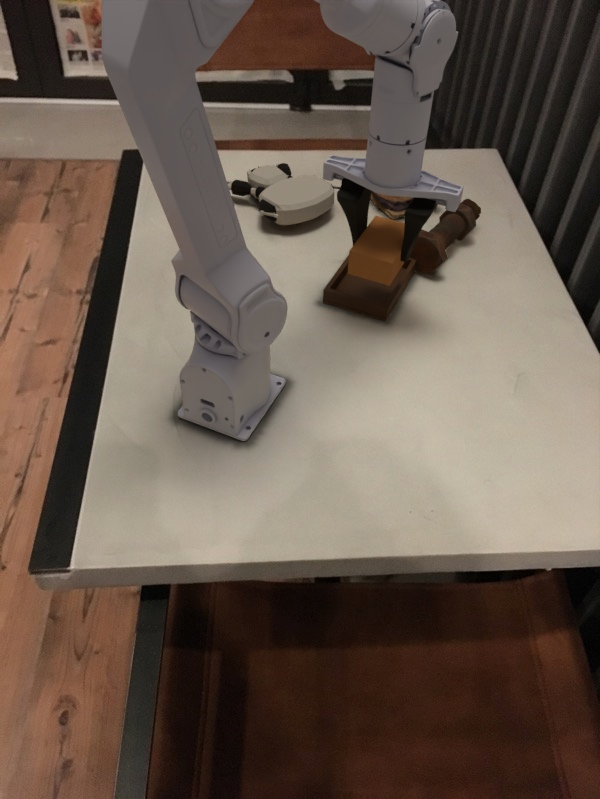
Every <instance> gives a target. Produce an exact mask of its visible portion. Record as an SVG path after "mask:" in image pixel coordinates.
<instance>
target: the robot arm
mask: <svg viewBox="0 0 600 799" xmlns="http://www.w3.org/2000/svg"><path fill="white" fill-rule="evenodd" d="M313 1H314V2H315V3H318V4H319V9H320V14H321V18H322V20H323V23H324V24H325V25H326V27H327V28H328V29H329V30H330V31H331V32H333V33H335V34H336V35H338V36H340V37H343V38H344V39H346V40H348V41H350V42H352V43H354V44H356V45H357V46H359V47H361V48H363V49H364V50H365V52H366V54H367V55H369V56H373V55H374V56H375V58H374V68H373V79H372V89H371V102H370V111H369V122H368V131H367V140H366V143H367V144H366V150H365V151H366V153H365V157H349V156H342V155H341V156H340V155H336V154H330V155H329V156H328V157H327V158H326V159H325V160H324V162H323V165H322V166H323V167H322V180H324V181H327V182H332V181H334V180H337V181H338V180H339V181H341V183H340V184H341V185H340V186H339V187H340V189H338V191H337V192H336V201H337V202H338V204H339V205H340V207H341V209H342V211H343V214H344V215H345V218H346V220H347V223H348V226H349V230H350V231H349V232H350V235H351V241H352V246H353V245H354V244H355V243H356V241H357V240H358V239H359V237H360V236H361V235H362V233H363V232H364V231H365V229H366V228H367V227H368V219H369V209H370V203H371V194H372V191H373V192H376V193H378V194H382V195H387V196H400V197H410V198H414V199H413V201H412V202H411V203H410V205H409V206H408V207H407V209H406V210H405V213H404V217H403V219H404V223H405V226H404V239H403V244H402V248H401V261H403V262H407V260H408V258H409V257H410V255H411V254H412V250H413V247H414V244H415V241H416V239H417V237H418V235H419V233H420V231H421V229H422V230H423V227H424V226H425V224H426V223H427V222H428V221H429V219H430V218H431V216H432V214H433V213H434V211H436V209H435V208H437V206H438V205H439V206H442V207H445V208H444V210H445V211H446V210H448V211H452V212H455V211H456V210H457V208H458V206H459V205H460V203H461V202H462V197H463V193H464V187H465V186H463V185H460V184H457V183H454V182H450V181H448V180H446V179H444V178H442V177H439V176H437V175H435V174H433V173H431V172H429V171H427V170H425V169H423V164H424V156H425V150H426V143H427V137H428V131H429V126H430V120H431V113H432V106H433V100H434V94H435V91H437V90H438V89H439V87H440V84H441V83H442V82H443V76H444V70H445V68H446V65H447V62H448V61H449V59H450V57H451V55H452V54H453V52H454V49H455V46H456V43H457V40H458V35H459V31H457V21H456V17H455V15H454V13H452V10H451V8H450V5H449V4H448V3H447V2H445V1H443V0H313ZM254 2H255V0H101V58H102V62H103V66H104V71H105V72H106V75H107V77H108V81H109V83H110V85H111V87H112V89H113V92H114V95H115V97H116V99H117V102H118V104H119V106H120V109H121V111H122V114H123V116H124V118H125V121H126V123H127V126H128V128H129V131H130V133H131V135H132V138H133V140H134V142H135V145H136V147H137V150H138V152H139V154H140V158H141V160H142V162H143V164H144V167H145V169H146V172H147V174H148V177H149V179H150V181H151V183H152V186H153V189H154V191H155V194H156V196H157V198H158V202H159V203H160V206H161V208H162V211H163V212H164V215H165V218H166V220H167V222H168V224H169V227H170V229H171V232H172V234H173V237H174V240H175V242H176V245H177V247H178V249H179V250H178V251H177V253H176V254H175V255H174V256H173V258H171V261H170V263H171V264H172V267H173V269H174V273H175V281H174V282H175V283H174V294H175V297H176V299H177V302H178V303H179V305H181V306H182V307H183V308H184V309H186V310H189V313H190V314H189V315H190V322H191V323H192V324H193V330H194V342H193V347H192V350H191V353H190V355H189V358H188V359H187V361H186V362H185V364H184V365H183V367H182V368H181V370H180V372H179V385H180V393H181V399H182V405H181V406H180V408H179V409H178V410H177V417H178V418H181V419H182V420H185V421H188V422H190V423H193V424H196V425H199V426H201V427H204V428H206V429H210V430H212V431H215V432H217V433H220V434H223V435H225V436H228V437H230V438H233V439H236V440H239V441H242V442H245V441H248V440H249V438H250V437H251V435H252V434H253V432H255V430H256V428H257V426H258V425H259V424H260V422H261V420H262V419H263V418H264V416H265V415H266V414H267V412H268V410H269V409H270V408H271V405H272V404H273V403H274V401H275V400H276V398H277V397H278V396H279V394H280V393H281V391H282V390H283V388H284V387H285V386H286V382H287V381H286V379H285V378H284V377H282V376H279V375H276V374H274V373H271V344H273V343H274V341H276V340H277V338H278V337H279V336H280V334H281V332H282V331H283V329H284V327H285V324H286V321H287V317H288V302H287V299H286V297H285V296H284V295H283V294H282V293H281V292H280V291H277V290H276V289H275V287H274V285H273V282H272V278H271V276H270V275H269V273H268V272H267V271H266V269H264V267H263V266H262V264H260V262H259V261H258V260H257V259H256V257H255V256H254V254H252V252H251V251H250V250H249V248H248V247H247V244H246V240H245V237H244V234H243V231H242V227H241V224H240V221H239V218H238V214H237V211H236V208H235V203H234V201H233V198H232V193H231V190H229V187H228V184H227V178H226V175H225V171H224V168H223V164H222V161H221V158H220V155H219V151H218V148H217V144H216V142H215V138H214V134H213V132H212V128H211V125H210V122H209V118H208V114H207V112H206V109H205V105H204V102H203V99H202V95H201V92H200V88H199V85H198V82H197V79H196V72H197V70H198V68H199V67H202V66H204V65H206V64H207V63H208V62H209V61H210V60H211V59H212V58H213V56H214V55H215V53H216V52H217V51H218V49H219V48H220V46H221V45H222V44H223V43H224V41H225V40H226V39H227V38H228V36H230V34H231V33H232V31H233V30H234V28H235V27H236V26H237V24H238V23H239V22H240V21H241V19H242V18H243V17H244V15H246V13H247V12H248V10H249V9H250V8H251V7H252V5H253V4H254Z"/></svg>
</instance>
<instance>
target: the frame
mask: <svg viewBox="0 0 600 799" xmlns="http://www.w3.org/2000/svg"><path fill="white" fill-rule="evenodd" d="M348 261H349V254H348V255H347V256H346V258H345V259H344V260H343V262H342V263H341V265H340V266H339V267H338V269H337V270H336V272H335V273H334V274H333V276H332V277H331V278H330V280H329V281H328V283H327V284H326V285H325V286H324V288H323V290H322V303H323V304H325V305H329V306H333V307H336V308H339V309H342V310H346V311H349V312H352V313H356V314H359V315H362V316H366V317H368V318H373V319H376V320H379V321H381V322H385V323H386V322H387V321H388V320H389V317H390V316H391V314H392V312H393V311H394V308H395V307H396V305H397V304H398V302H399V300H400V299H401V297H402V296H403V293H404V292H405V290H406V288H407V287H408V285H409V284H410V282H411V280H412V278H413V277H414V275H415V273H416V271H415V267H416V262H417V260H415V259H412V258H410V257H409V258H408V260H407V262H404V264H403V265H402V267H401V269H400V270H399V272H398V273H397V275H396V276H395V278H394V280H393V281H392V283H391V284H390V286H389V285H385V284H382V283H378V282H375V281H372V280H368V279H365V278H361V277H358V276H354V275H351V274H348Z"/></svg>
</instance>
